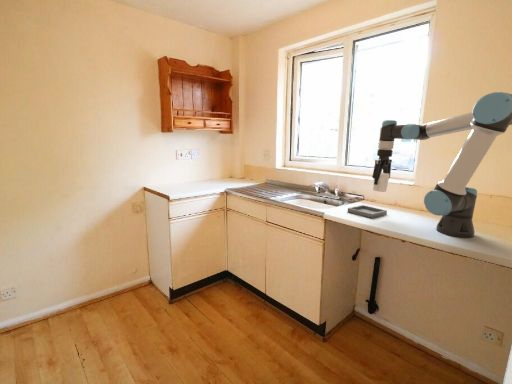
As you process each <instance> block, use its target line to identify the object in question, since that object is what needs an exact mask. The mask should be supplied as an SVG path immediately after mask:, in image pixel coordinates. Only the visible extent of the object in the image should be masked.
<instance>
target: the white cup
mask: <svg viewBox="0 0 512 384" xmlns="http://www.w3.org/2000/svg"><path fill="white" fill-rule="evenodd" d="M389 175H390V176H391V173H390V174H388V173H383V172H381V174H380V177H379V179H380V183H379V190H378V191H376V190H373V191H375V192H378V193H379V192H380V193H385V192H387V189H388V183H389V179H390V178H389ZM374 180H375V179H374V178H373V181H374ZM373 187H374V183H373ZM373 187H372V188H373Z"/></svg>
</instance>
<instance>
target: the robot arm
mask: <svg viewBox="0 0 512 384" xmlns="http://www.w3.org/2000/svg"><path fill="white" fill-rule="evenodd" d="M509 126H512V94H511V93H508V92H503V91H502V92H501V91H498V92H496V91H495V92H491V93H488V94H485V95H483V96H482V97H479V99H478V100H477V101H476V102H475V104H474V106H473V108H472V111H471V112H467V113H464V114H460V115H456V116H451V117H448V118H444V119H443V118H442V119H440V120H435V121H431V122H427V123H423V124H415V123H400V124H398V122H397V120H396V119H395V120H393V119H386V120H385V119H384V120H382V121H381V125H380V128H379V129H380V130H379V139H378V143H377V144H378V145H377V146H378V147H377V148H378V149H377V153H376V155H377V157H378V159H375V160H374V168H373V172H372V176H371V177H372V179H373V184H374V185H373V186H374V187H372V189H373V190H372V191H374V190H376V191H375V192H378V190H379V183H380V179H379V177H380V174H381V173H388V174H390V175H389V179H390V178H391V171H392V162H393V159H390V158H391V157H392V155H393V149H394V145H395V144H394V143H395V139H397V140H400V139H401V140H418V141H419V140H420V141H425V140H426V141H427V140H429V139H430V138H434V137H438V136H443V135H450V134H455V133H460V132H464V131H469V130H471V131H470V132H469V134H468V136H467V138H466V140H465V141H464V143H463V144H462V146H461V148H460V149H459V152H458V153H457V155H456V157H455V159H454V160H453V162H452V164H451V166H450V168H449V170H448V171H447V173H446V174H445V177H444V178H443V180H440V181H438V182H437V183H436V185H435V186H434V189H432V190H429V191H427V193H425V195H424V198H423V204H424V206H425V209H426V210H427V211H428V212H429V213H430V214H432V215H434V216H440V220H439V221H438V223H437V224H436V228H435V229H436V231H437V232H439V233H441V234H444V235H447V236H451V237H455V238H465V239H467V238H473V237H474V236H475V227H474V223H473V222H474V221H473V217H474V211H475V207H476V202H477V198H478V190H477V189H476V188H474V187H467V185H468V184H469V182H470V181H471V179H472V178H473V176H474V174H475V172H476V170H477V169H478V167H479V166H480V164H481V163H482V161H483V160H484V158H485V156H486V155H487V152H488V151H489V149H490V148H491V146H492V145H493V143H494V141H495V140H496V138H497V137H498V136H501V135H503V134H505V132H506V131H507V129H508V128H509ZM374 179H375V180H374Z"/></svg>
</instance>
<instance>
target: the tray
mask: <svg viewBox="0 0 512 384" xmlns="http://www.w3.org/2000/svg"><path fill="white" fill-rule="evenodd" d="M347 213H350V214H353V215H356V216H361V217H364V218H368V219H376V218H379V217H382V216H383V217H384V216H386V215H387V213H388V210H385V209H383V208H382V209H381V208H377V207H374V206H368V205H366V204H365V205H364V204H361V205H357V206H356V205H355V206H352V207H348V208H347Z"/></svg>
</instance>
